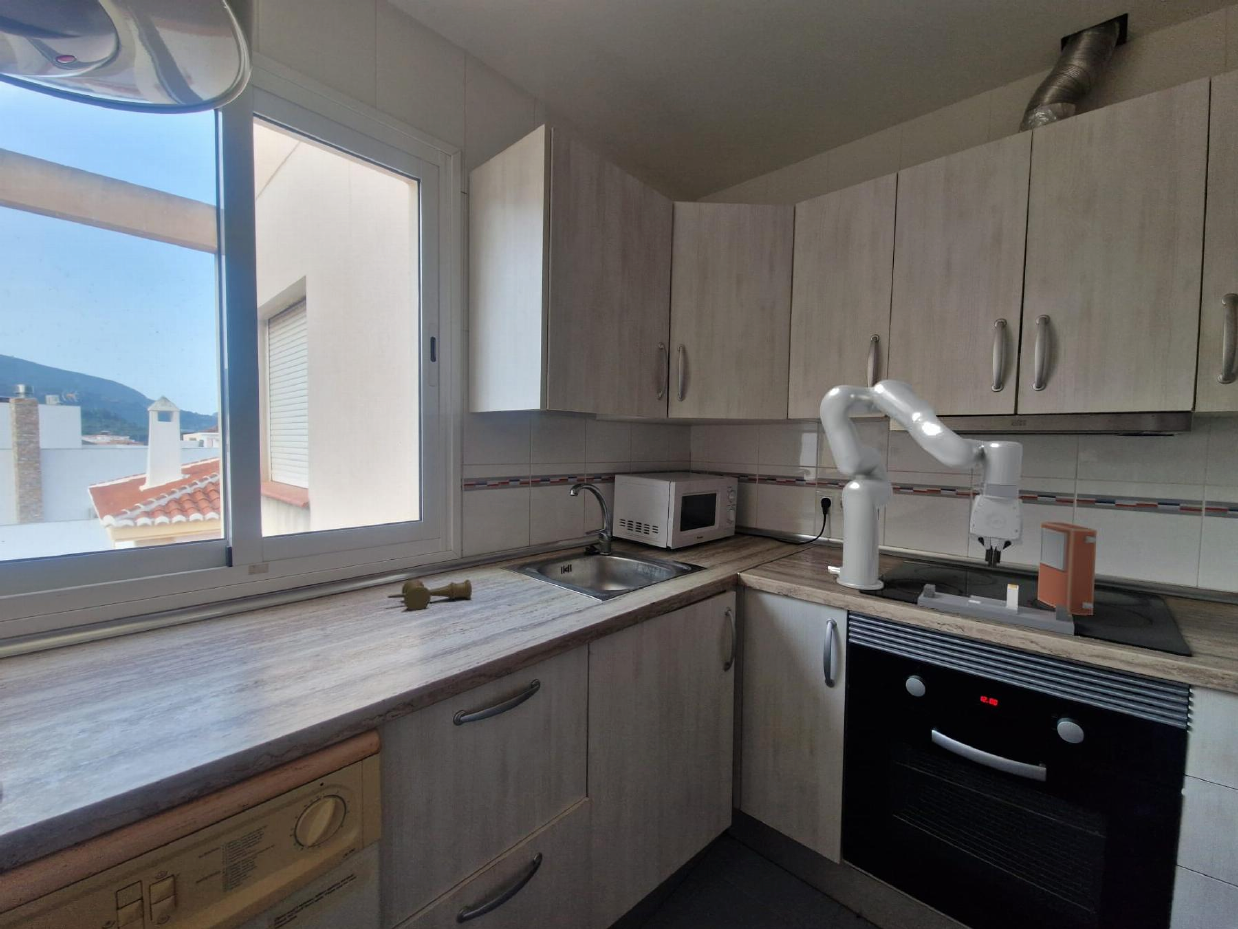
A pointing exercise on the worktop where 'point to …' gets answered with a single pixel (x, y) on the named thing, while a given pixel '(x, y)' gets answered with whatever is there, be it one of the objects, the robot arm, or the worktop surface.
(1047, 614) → the strip
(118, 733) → the worktop surface
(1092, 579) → the orange rectangular block
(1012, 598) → the breaker handle
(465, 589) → the kendama
